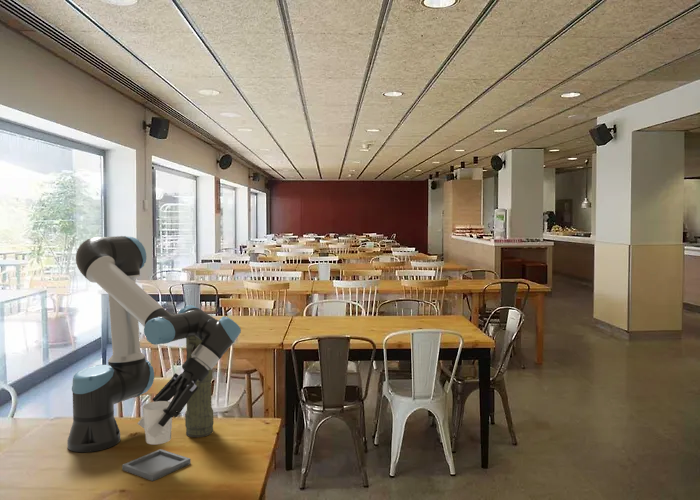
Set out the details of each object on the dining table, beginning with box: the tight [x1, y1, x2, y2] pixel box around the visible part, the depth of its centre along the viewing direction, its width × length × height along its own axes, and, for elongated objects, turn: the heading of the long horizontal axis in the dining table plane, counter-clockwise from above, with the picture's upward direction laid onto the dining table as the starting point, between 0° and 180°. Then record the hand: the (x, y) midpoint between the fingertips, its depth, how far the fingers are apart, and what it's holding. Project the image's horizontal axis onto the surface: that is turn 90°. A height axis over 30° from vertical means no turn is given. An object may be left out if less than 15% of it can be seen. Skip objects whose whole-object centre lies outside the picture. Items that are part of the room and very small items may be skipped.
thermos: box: [184, 336, 214, 438], centre depth 185 cm, size 9×12×35 cm
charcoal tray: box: [121, 448, 192, 482], centre depth 159 cm, size 13×13×2 cm
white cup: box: [142, 400, 173, 445], centre depth 158 cm, size 8×8×10 cm
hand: (145, 430), depth 156 cm, fingers closed on white cup, 8 cm apart
